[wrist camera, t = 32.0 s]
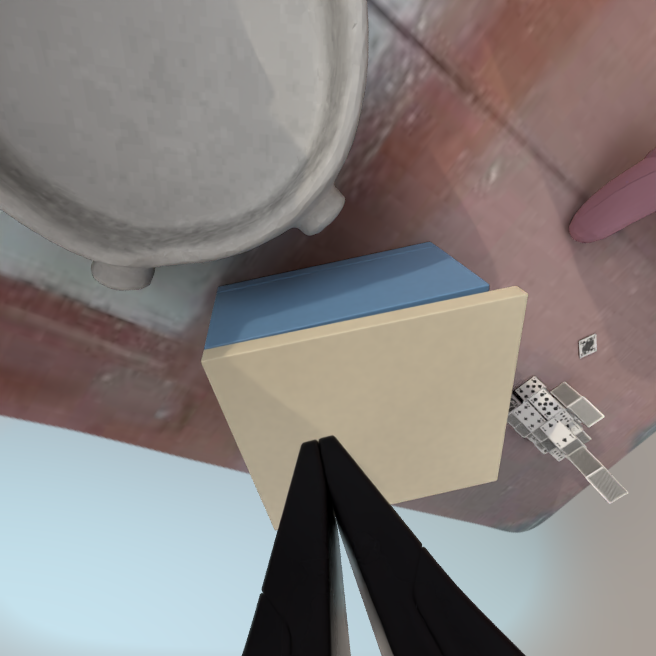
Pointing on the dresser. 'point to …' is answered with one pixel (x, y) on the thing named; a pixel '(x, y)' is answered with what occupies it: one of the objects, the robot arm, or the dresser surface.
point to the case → (338, 293)
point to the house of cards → (563, 426)
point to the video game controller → (617, 203)
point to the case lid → (378, 395)
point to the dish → (176, 124)
